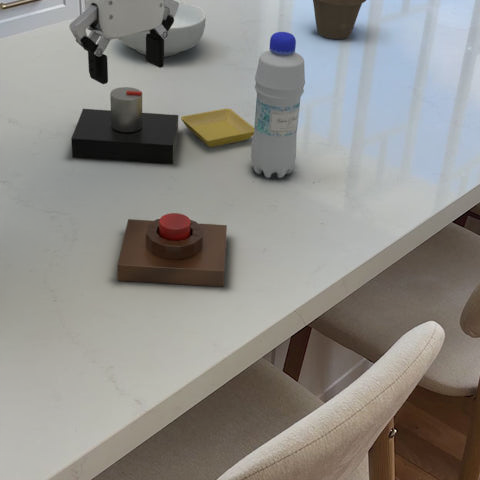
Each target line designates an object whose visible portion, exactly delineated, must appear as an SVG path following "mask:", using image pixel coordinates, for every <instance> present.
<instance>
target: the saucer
mask: <svg viewBox="0 0 480 480" xmlns="http://www.w3.org/2000/svg"><path fill="white" fill-rule="evenodd" d="M180 119H181V122H182V123H183V124H184V126H185V127H186V128H187V129H188V130H189V131H190V132H192V133H193V134H194V135H195V137H197V138H198V139H199V140H201V142H203V143H204V144H205V145H206V146H207V147H208V148H215V147H222V146H226V145H230V144H236V143H241V142H245V141H247V140H248V139H250V138H251V137H253V135H254V127H255V126H253V125H251V124H250V123H249V122H248V121H247V120H245V119H244V118H243V117H241V116H240V115H239V114H237V112H235V111H234V110H232V109H231V108H222V109H221V108H220V109H215V110H209V111H204V112H199V113H198V112H197V113H193V114H187V115H182V116H181V117H180Z"/></svg>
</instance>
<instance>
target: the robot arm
mask: <svg viewBox="0 0 480 480" xmlns="http://www.w3.org/2000/svg"><path fill="white" fill-rule="evenodd" d="M163 6H164V11H163ZM178 6H179V3H178V2H176V1H174V0H84V11H82V13H80V14H79V15H78V16H77V17H76V18H75V19H73V20H72V21H71V22H70V24H69V26H68V27H69V30H70V32H71V33H72V35H73V37H74V38H75V42H76V43H77V44H78V45H79V46H80V47H82V48H83V50H84V51H86V52H87V61H88V64H87V65H88V74H89V76H90V79H92V80H94V81H96V82H97V83H99V84H101V85H106V84H108V82H109V71H108V70H109V68H108V66H109V65H108V56H107V55H106V54H105V53H104V52H105V51H106V50H107V47H108V46H109V44H110V42H111V41H112V40H116V39H118V38H121V37H125V36H129V35H133V34H137V33H141V32H144V31H149V32H150V33H148V34H146V55H145V60H146V62H147V63H148V64H151V65H153V66H155V67H157V68H160V69H161V68H164V67H165V57H164V39H166V38H167V37H168V30H169V29H170V27H171V26H172V24H173V23H174V16H175V14H176V12H177V9H178ZM163 12H164V13H163ZM87 30H88V31H90V33H87Z"/></svg>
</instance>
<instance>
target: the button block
mask: <svg viewBox="0 0 480 480" xmlns="http://www.w3.org/2000/svg"><path fill="white" fill-rule="evenodd" d="M159 220H160V218H156V219H154V220H149V219H133V218H131V219H130V218H128V219H127V223H126V226H125V232H124V235H123V239H122V245H121V248H120V253H119V257H118V262H117V281H118V282H119V281H120V282H134V283H153V284H155V283H156V284H169V285H170V284H171V285H189V286H206V287H225V285H224V284H225V269H226V252H227V251H226V249H227V248H226V247H227V232H228V225H227V224H213V223H199V222H197V221H195V220H192V219H190V221H191V227H190V236H189V238H188V239H185V240H180V241H170V240H166V239H164V238H161V237H160V235H159Z"/></svg>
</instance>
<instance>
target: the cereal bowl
mask: <svg viewBox="0 0 480 480" xmlns="http://www.w3.org/2000/svg"><path fill="white" fill-rule="evenodd" d="M174 1H176V2H178V3H179V6H178V9H177V12H176V14H175V16H174V23H173V24H172V26H171V27H170V29H169V30H168V37H167V38H166V39H164V58H165V57H172V56H175V55H178V54H179V53H182V52H185V51H187V50H189V49H192V48H193V47H194V46H196V45H197V44H198V43H199V42H200V41H201V39H202V37H203V35H204V32H205V28H206V21H207V20H206V19H207V18H206V15H207V14H206V12H205V11H204V10H203V9H202V8H201V7H199V6H198V5H196V4H194V3H190V2H187V1H184V0H174ZM163 11H164V6H163ZM163 13H164V12H163ZM148 33H150V32H149V31H144V32H141V33H137V34H133V35H129V36H125V37H121V38H117V39H118V40H119V41H120V42H121V43H122V44H124V45H125V46H127V47H129V48H130V49H133V50H136V52H138V53H140V54H141V55H144V56H146V34H148Z"/></svg>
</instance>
